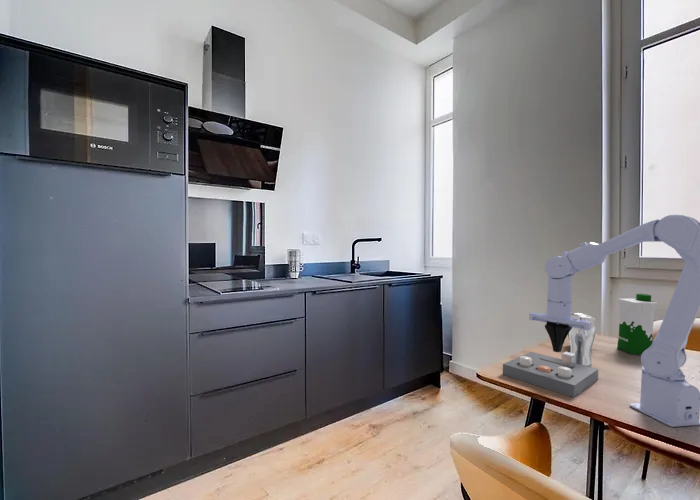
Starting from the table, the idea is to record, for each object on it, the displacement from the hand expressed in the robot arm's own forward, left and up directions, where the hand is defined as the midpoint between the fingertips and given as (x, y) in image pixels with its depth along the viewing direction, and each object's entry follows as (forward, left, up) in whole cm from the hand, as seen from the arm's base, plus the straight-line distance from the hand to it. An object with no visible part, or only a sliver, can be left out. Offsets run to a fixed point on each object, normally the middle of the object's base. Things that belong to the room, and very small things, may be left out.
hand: (557, 351), depth 96 cm
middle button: (+1, +3, -8) cm, 9 cm away
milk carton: (+20, -48, -9) cm, 52 cm away
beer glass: (+12, -19, -9) cm, 24 cm away
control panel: (+3, -1, -8) cm, 9 cm away
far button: (+5, +5, -7) cm, 10 cm away
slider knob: (+3, -6, -5) cm, 8 cm away
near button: (-3, 0, -7) cm, 8 cm away
